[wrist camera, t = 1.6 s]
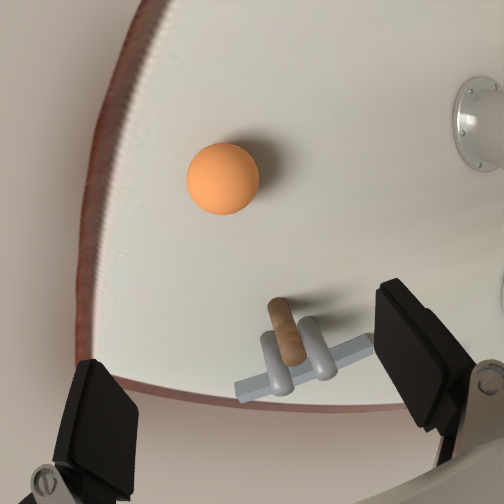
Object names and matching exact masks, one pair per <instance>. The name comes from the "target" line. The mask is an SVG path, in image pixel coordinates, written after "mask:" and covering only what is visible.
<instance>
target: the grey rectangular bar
mask: <svg viewBox="0 0 504 504" xmlns="http://www.w3.org/2000/svg"><path fill="white" fill-rule="evenodd" d="M329 351H330V353H331V356H332V358H333V360H334V362H335V365H336V367H337V369H340V368H342V367H345V366H347V365H349V364H352V363H354V362H356V361H359V360H361V359H363V358H365V357H368V356H370V355H372V354H374V353H373V345H372V343H371V342H370V340H369V338H368V337H367V335H366V334H363V335H361V336H359V337H357V338H354V339H352V340H350V341H348V342H345V343H343V344H340V345H338V346H336V347H333V348H331V349H329ZM288 368H289V371H290V375H291V378H292V381H293V385H294V386H296V385H299V384H302V383H304V382H307V381H310V380H312V379H315V378H317V377H316V374H315V372H314V369H313V366H312V364H311V361H310V358H309V357H308V358H306V360H305V361H304V362H303V363H302V364H300V365H298V366H292V367H291V366H288ZM234 385H235V393H236V397H237V399H238V400H239V401H240V402H241V403H244V402H248V401H251V400H254V399H257V398H261V397H264V396H267V395H270V394H273V393H272V388H271V384H270V380H269V376H268V372H267V373H264V374H261V375H258V376H255V377H252V378H249V379H246V380H243V381H240V382H236V383H234Z"/></svg>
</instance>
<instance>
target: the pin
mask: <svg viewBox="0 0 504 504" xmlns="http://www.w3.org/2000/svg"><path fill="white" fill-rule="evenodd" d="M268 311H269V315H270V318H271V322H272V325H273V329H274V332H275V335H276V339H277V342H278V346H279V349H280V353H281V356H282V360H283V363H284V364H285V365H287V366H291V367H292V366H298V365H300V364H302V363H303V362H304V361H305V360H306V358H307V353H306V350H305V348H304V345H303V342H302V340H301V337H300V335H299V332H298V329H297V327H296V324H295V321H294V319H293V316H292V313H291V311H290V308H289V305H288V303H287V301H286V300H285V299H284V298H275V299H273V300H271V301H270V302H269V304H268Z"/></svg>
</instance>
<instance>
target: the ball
mask: <svg viewBox="0 0 504 504" xmlns="http://www.w3.org/2000/svg"><path fill="white" fill-rule="evenodd" d="M258 186H259V171H258V168H257V165H256V163H255V161H254V159H253V158H252V157H251V155H250V154H249V153H248V152H247V151H245V150H244V149H242V148H241V147H239V146H236V145H233V144H229V143H218V144H213V145H210V146H208V147H206V148H204V149H203V150H201V151H200V152H199V153H198V154H197V155H196V156H195V157H194V158H193V160H192V161H191V163H190V165H189V168H188V171H187V187H188V191H189V193H190V195H191V197H192V199H193V200H194V202H195V203H196V204H197V205H198V206H199V207H201V208H202V209H204V210H205V211H207V212H210V213H213V214H217V215H228V214H233V213H236V212H238V211H240V210H242V209H243V208H245V207H246V206H247V205H248V204H249V203H250V202H251V201H252V199H253V198H254V196H255V194H256V192H257V190H258Z"/></svg>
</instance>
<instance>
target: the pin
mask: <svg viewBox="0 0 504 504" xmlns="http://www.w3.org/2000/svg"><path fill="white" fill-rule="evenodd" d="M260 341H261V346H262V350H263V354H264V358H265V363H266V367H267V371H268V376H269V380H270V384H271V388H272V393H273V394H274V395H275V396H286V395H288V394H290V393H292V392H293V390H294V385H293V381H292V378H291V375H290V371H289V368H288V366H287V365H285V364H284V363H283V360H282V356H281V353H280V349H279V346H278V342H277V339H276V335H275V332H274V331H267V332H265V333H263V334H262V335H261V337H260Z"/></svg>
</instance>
